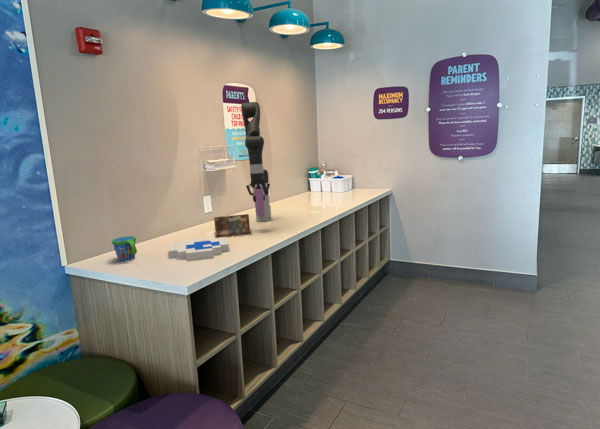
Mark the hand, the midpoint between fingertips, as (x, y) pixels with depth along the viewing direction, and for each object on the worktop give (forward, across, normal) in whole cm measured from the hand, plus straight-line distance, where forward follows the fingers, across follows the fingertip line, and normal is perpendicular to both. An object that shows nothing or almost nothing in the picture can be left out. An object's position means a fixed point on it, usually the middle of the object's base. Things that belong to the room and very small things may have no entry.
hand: (259, 201), depth 241 cm
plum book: (+7, 0, 0) cm, 7 cm away
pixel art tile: (+17, +35, +32) cm, 50 cm away
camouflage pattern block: (+17, +16, -1) cm, 24 cm away
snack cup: (+17, +69, +32) cm, 78 cm away
